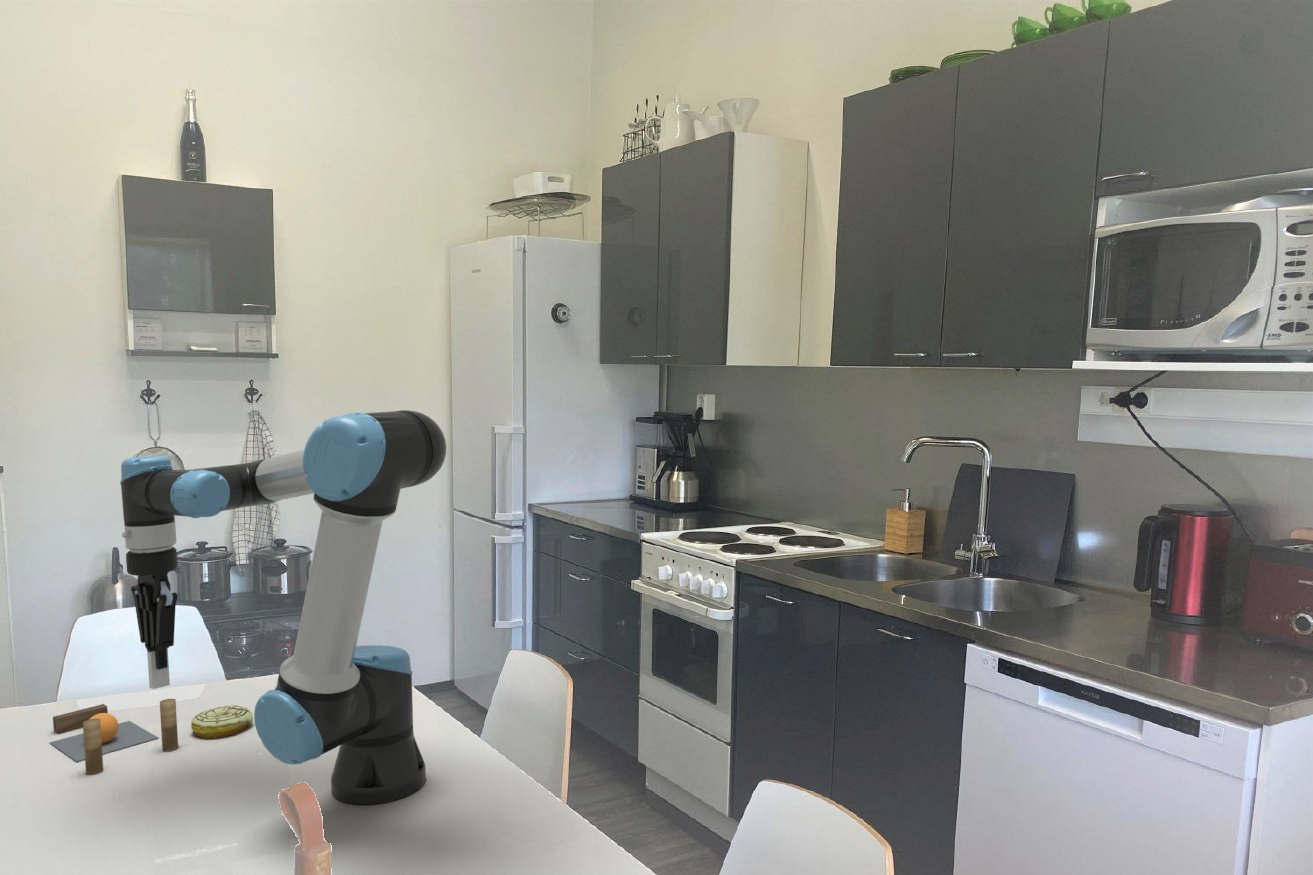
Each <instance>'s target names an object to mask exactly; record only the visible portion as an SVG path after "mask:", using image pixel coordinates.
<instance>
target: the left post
mask: <svg viewBox="0 0 1313 875" xmlns="http://www.w3.org/2000/svg"><path fill="white" fill-rule="evenodd" d="M82 729H83V731H82V732H83V734H84V749H85V760H84V762H85V764H84V766H85V774H86V775H88V776H89V775H91V776H92V775H97V774H101V773H103V771H104V761H103V759H104V758H103V757H104V756H103V755H102V741H101V725H100V719H89V720H86V721H84V722H83V728H82Z"/></svg>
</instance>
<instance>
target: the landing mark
mask: <svg viewBox="0 0 1313 875" xmlns="http://www.w3.org/2000/svg"><path fill="white" fill-rule="evenodd" d="M118 725H119V728H118V732H117V734H116V735H115V737H114V738H113V739H112V740H110V741H109V742H107V743H104V744H102V756H104V755H107V754H110V753H109V752H111V753H114V752H117V751H122V750H123V749H127V747H128V748H130V746H131V747H133V746H134V745H135V746H137V745H141V744H145V743H149V742H151V741H150V740H152V741H155V740H157V739H156V738H158V739H159V737H158V736H157V735H156V734H155V735H154V734H152V732H150V731H148V730H147V729H145V728H143V727H141V726H139V725H138V724H136V723H134V722H132V721H130V720H127V721H122V722H120V723H119V722H118ZM154 739H155V740H154ZM49 744H50V745H51V746H53V747H54V748H55V749H57V750H58V751H60V752H61V753H62V752H63V753H62V754H64V755H65V756H66V755H67V757H68V758H69V759H70V760H72V759H73V760H74V762H75V763H80V762H83V761H85V749H84V734H83V733H80V734H75V735H72V736H68V737H65V738H61V739H58V740H53V741H50V742H49ZM106 753H107V754H106ZM73 760H72V761H73ZM79 761H80V762H79Z"/></svg>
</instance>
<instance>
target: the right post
mask: <svg viewBox="0 0 1313 875" xmlns="http://www.w3.org/2000/svg"><path fill="white" fill-rule="evenodd" d="M159 714H160V727H161V728H160V729H161V732H160V733H161V745H162V747H161V748H162V752H165V753H166V752H174V751H175V750H177V748H178V749H179V737H178V734H179V733H178V720H177V702H176V698H166V699H162V700H160V701H159Z"/></svg>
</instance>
